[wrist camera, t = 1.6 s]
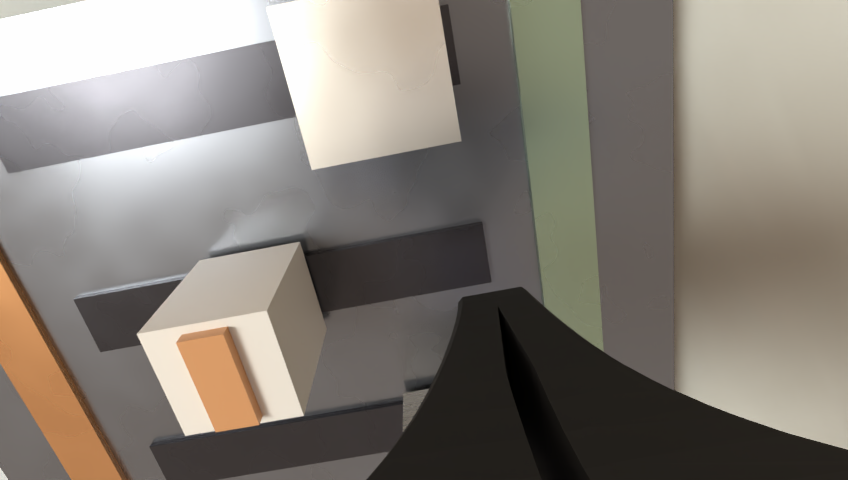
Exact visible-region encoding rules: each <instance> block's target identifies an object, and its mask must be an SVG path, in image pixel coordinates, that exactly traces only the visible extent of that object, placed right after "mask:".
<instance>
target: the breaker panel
mask: <svg viewBox="0 0 848 480" xmlns="http://www.w3.org/2000/svg"><path fill="white" fill-rule="evenodd" d="M295 242H300V244H301V247H302V250H303V253H304V257H305V260H306V263H307V266H308V270H309V273H310V276H311V279H312V283H313V286H314V289H315V292H316V296H317V299H318V302H319V305H320V309H321V312H322V315H323V318H324V322H325V325H326V328H327V330H326V334H325V338H324V341H323V345H322V349H321V353H320V357H319V360H318V364H317V368H316V372H315V376H314V379H313V383H312V387H311V391H310V395H309V398H308V402H307V406H306V410H305V414H304V416H300V417H294V418H288V419H282V420H276V421H271V422H265V423H260V425H256V426H251V427H245V428H239V429H233V430H227V431H221V432H215V431H211V432H205V433H200V434H194V435H188V436H185V434H184V432H183V430H182V428H181V426H180V424H179V422H178V420H177V418H176V416H175V413H174V411H173V409H172V407H171V405H170V403H169V401H168V399H167V397H166V395H165V392H164V390H163V388H162V386H161V384H160V382H159V380H158V378H157V376H156V374H155V371H154V369H153V367H152V365H151V363H150V361H149V359H148V357H147V355H146V352H145V350H144V348H143V346H142V344H141V342H140V340H139V338H138V336H137V333H138V332H139V331H140V330H141V328H142V327H143V326H144V325H145V324H146V323H147V321H148V320H149V319H150V318H151V317H152V316H153V314H154V313H155V312H156V311H157V310H158V308H159V307H160V306H161V305H162V304H163V303H164V301H165V300H166V299H167V298H168V297H169V296H170V294H171V293H172V292H173V291H174V290H175V289H176V287H177V286H178V285H179V284H180V283H181V281H182V280H183V279H184V278H185V277H186V276H187V274H188V273H189V272H190V271H191V270H192V269H193V267H194V266H195V265H196V264H197V263H198V262H199V260H204V259H209V258H215V257H220V256H225V255H231V254H236V253H241V252H247V251H252V250H258V249H263V248H268V247H274V246H279V245H284V244H290V243H295ZM516 287H523V288H524V289H526V290H527V291H528V292H529V293H530V294H531V295H532V296H533V297H535V298H536V299H537V300H538V301H539V302H540V303H541V304H542V305H543V306H544V307H546V308H547V309H548V310H549V311H550V312H551V313H553V314H554V315H555V316H556V317H557V318H559V319H560V320H561V321H562V322H563V323H565V324H566V325H567V326H569V327H570V328H571V329H573V330H574V331H575V332H576V333H578V334H579V335H580V336H582V337H583V338H584V339H586V340H587V341H589V342H590V343H591V344H593V345H594V346H596V347H597V348H599V349H600V350H602V351H603V352H605V353H606V354H608V355H609V356H611V357H612V358H614V359H616V360H617V361H619V362H621V363H622V364H624V365H626V366H628V367H630V368H631V369H633V370H635V371H637V372H639V373H641V374H643V375H644V376H646V377H648V378H650V379H652V380H654V381H656V382H658V383H660V384H662V385H664V386H666V387H668V388H670V389H672V390H674V149H673V0H88V1H84V2H79V3H74V4H69V5H65V6H60V7H55V8H51V9H46V10H41V11H37V12H32V13H27V14H23V15H18V16H13V17H9V18H4V19H0V468H1V469H2V471H3V472H4V474H5V475H6V477H7V478H8V480H366V479H367V478H368V477H369V476H370V475H371V473H372V472H373V471H374V470H375V469H376V468H377V466H378V465H379V464H380V463H381V462H382V460H383V459H384V458H385V457H386V455H387V454H388V453H389V451H390V450H391V449H392V447H393V446H394V445H395V443H396V442H397V440H398V439H399V437H400V436H401V434H402V433H403V432H404V430H405V429H406V427H407V426H408V424H409V423H410V421H411V420H412V418H413V416H414V415H415V413H416V411H417V410H418V408H419V406H420V405H421V403H422V401H423V399H424V398H425V396H426V394H427V392H428V390H429V388H430V386H431V384H432V382H433V380H434V378H435V375H436V373H437V371H438V369H439V367H440V364H441V362H442V360H443V358H444V355H445V352H446V349H447V347H448V344H449V341H450V338H451V335H452V332H453V328H454V325H455V321H456V317H457V311H458V302H459V301H460V300H461V298H462V297H465V296H471V295H477V294H482V293H488V292H493V291H499V290H505V289H510V288H516Z"/></svg>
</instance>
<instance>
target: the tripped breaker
mask: <svg viewBox="0 0 848 480" xmlns="http://www.w3.org/2000/svg"><path fill="white" fill-rule="evenodd" d="M326 330H327V328H326V325H325V322H324V318H323V315H322V312H321V309H320V305H319V302H318V299H317V296H316V292H315V289H314V286H313V283H312V279H311V276H310V273H309V270H308V266H307V263H306V260H305V257H304V253H303V250H302V247H301V244H300V242H295V243H290V244H284V245H279V246H274V247H268V248H263V249H258V250H252V251H247V252H241V253H236V254H231V255H225V256H220V257H215V258H209V259H204V260H199V262H198V263H197V264H196V265H195V266H194V267H193V269H192V270H191V271H190V272H189V273H188V274H187V276H186V277H185V278H184V279H183V280H182V281H181V283H180V284H179V285H178V286H177V287H176V289H175V290H174V291H173V292H172V293H171V294H170V296H169V297H168V298H167V299H166V300H165V301H164V303H163V304H162V305H161V306H160V307H159V308H158V310H157V311H156V312H155V313H154V314H153V316H152V317H151V318H150V319H149V320H148V321H147V323H146V324H145V325H144V326H143V327H142V328H141V330H140V331H139V332H138V333H137V336H138V338H139V340H140V342H141V344H142V346H143V348H144V350H145V352H146V355H147V357H148V359H149V361H150V363H151V365H152V367H153V369H154V371H155V374H156V376H157V378H158V380H159V382H160V384H161V386H162V388H163V390H164V392H165V395H166V397H167V399H168V401H169V403H170V405H171V407H172V409H173V411H174V413H175V416H176V418H177V420H178V422H179V424H180V426H181V428H182V430H183V432H184V434H185V436H188V435H194V434H200V433H205V432H211V431H215V432H221V431H227V430H233V429H239V428H245V427H251V426H256V425H260V423H265V422H271V421H276V420H282V419H288V418H294V417H300V416H304V414H305V410H306V406H307V402H308V398H309V395H310V391H311V387H312V383H313V379H314V376H315V372H316V368H317V364H318V360H319V357H320V353H321V349H322V345H323V341H324V338H325V334H326Z"/></svg>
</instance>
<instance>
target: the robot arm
mask: <svg viewBox="0 0 848 480" xmlns="http://www.w3.org/2000/svg"><path fill="white" fill-rule="evenodd" d="M366 480H848V450H846V449H843V448H839V447H835V446H832V445H828V444H824V443H821V442H817V441H814V440H810V439H806V438H803V437H799V436H795V435H792V434H788V433H785V432H782V431H779V430H776V429H773V428H770V427H767V426H764V425H761V424H758V423H756V422H753V421H750V420H747V419H744V418H741V417H738V416H735V415H733V414H730V413H727V412H725V411H722V410H720V409H717V408H714V407H712V406H709V405H707V404H705V403H702V402H700V401H698V400H695V399H693V398H691V397H688V396H686V395H684V394H682V393H679V392H677V391H675V390H672V389H670V388H668V387H666V386H664V385H662V384H660V383H658V382H656V381H654V380H652V379H650V378H648V377H646V376H644V375H643V374H641V373H639V372H637V371H635V370H633V369H631V368H630V367H628V366H626V365H624V364H622V363H621V362H619V361H617V360H616V359H614V358H612V357H611V356H609V355H608V354H606V353H605V352H603V351H602V350H600V349H599V348H597V347H596V346H594V345H593V344H591V343H590V342H589V341H587V340H586V339H584V338H583V337H582V336H580V335H579V334H578V333H576V332H575V331H574V330H573V329H571V328H570V327H569V326H567V325H566V324H565V323H563V322H562V321H561V320H560V319H559V318H557V317H556V316H555V315H554V314H553V313H551V312H550V311H549V310H548V309H547V308H546V307H544V306H543V305H542V304H541V303H540V302H539V301H538V300H537V299H536V298H535V297H533V296H532V295H531V294H530V293H529V292H528V291H527V290H526V289H524V288H523V287H516V288H510V289H505V290H499V291H493V292H488V293H482V294H477V295H471V296H465V297H462V298H461V300H460V301H459V302H458V311H457V317H456V321H455V325H454V328H453V332H452V335H451V338H450V341H449V344H448V347H447V349H446V352H445V355H444V358H443V360H442V362H441V364H440V367H439V369H438V371H437V373H436V375H435V378H434V380H433V382H432V384H431V386H430V388H429V390H428V392H427V394H426V396H425V398H424V399H423V401H422V403H421V405H420V406H419V408H418V410H417V411H416V413H415V415H414V416H413V418H412V420H411V421H410V423H409V424H408V426H407V427H406V429H405V430H404V432H403V433H402V434H401V436H400V437H399V439H398V440H397V442H396V443H395V445H394V446H393V447H392V449H391V450H390V451H389V453H388V454H387V455H386V457H385V458H384V459H383V460H382V462H381V463H380V464H379V465H378V466H377V468H376V469H375V470H374V471H373V472H372V473H371V475H370V476H369V477H368V478H367V479H366Z"/></svg>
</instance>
